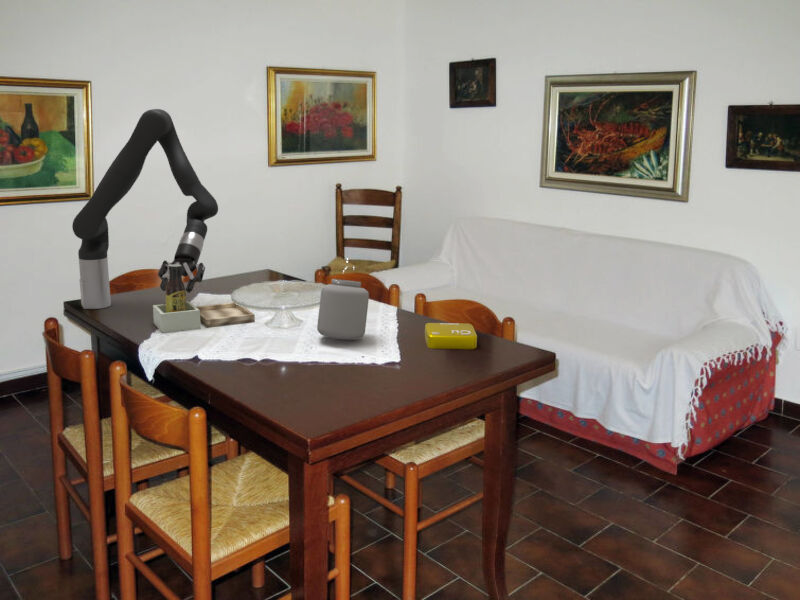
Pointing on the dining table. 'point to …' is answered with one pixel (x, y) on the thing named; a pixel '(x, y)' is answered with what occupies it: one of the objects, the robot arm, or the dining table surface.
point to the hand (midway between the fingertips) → (175, 290)
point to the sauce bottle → (175, 290)
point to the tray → (224, 315)
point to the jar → (343, 310)
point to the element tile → (450, 336)
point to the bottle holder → (176, 318)
